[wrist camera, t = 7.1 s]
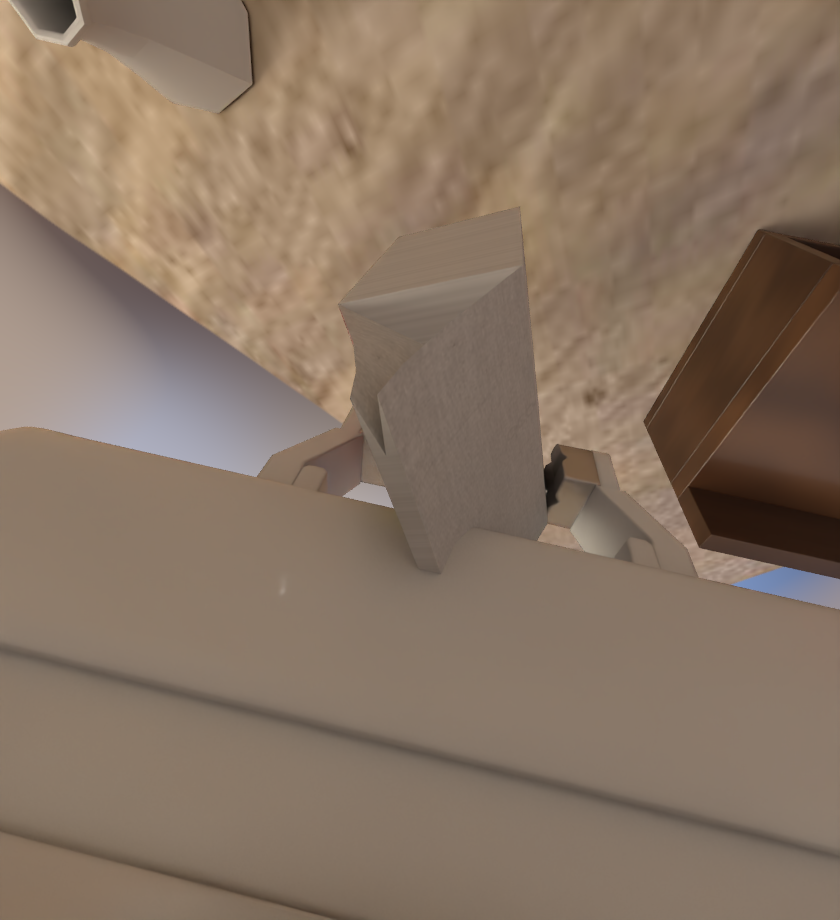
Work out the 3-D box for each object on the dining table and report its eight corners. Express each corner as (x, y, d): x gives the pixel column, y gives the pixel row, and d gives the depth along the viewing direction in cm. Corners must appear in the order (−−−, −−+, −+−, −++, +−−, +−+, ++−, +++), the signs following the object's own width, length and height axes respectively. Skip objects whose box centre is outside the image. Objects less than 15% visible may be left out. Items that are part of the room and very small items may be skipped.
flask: (274, 101, 25) (168, 93, 17) (170, 124, 26) (31, 126, 19) (220, -93, 20) (47, -220, 13) (100, -51, 22) (-118, -141, 14)
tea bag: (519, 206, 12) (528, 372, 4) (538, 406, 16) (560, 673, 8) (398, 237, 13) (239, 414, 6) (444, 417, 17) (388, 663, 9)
